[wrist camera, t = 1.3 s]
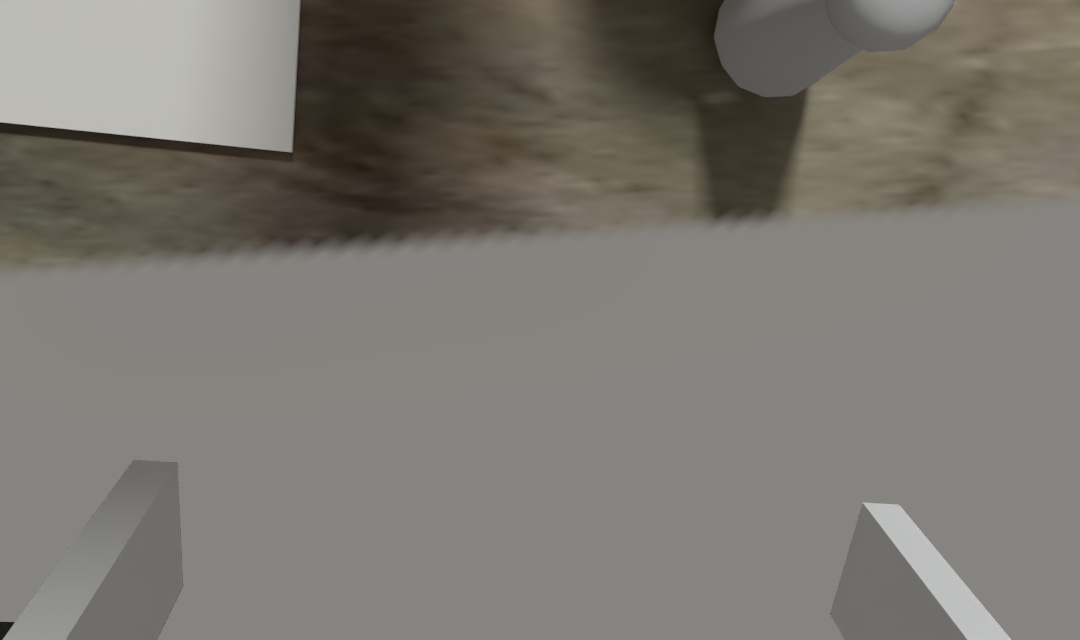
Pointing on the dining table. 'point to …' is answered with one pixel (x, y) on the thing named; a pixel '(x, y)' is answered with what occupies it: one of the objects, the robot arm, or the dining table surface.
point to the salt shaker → (813, 37)
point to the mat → (154, 68)
